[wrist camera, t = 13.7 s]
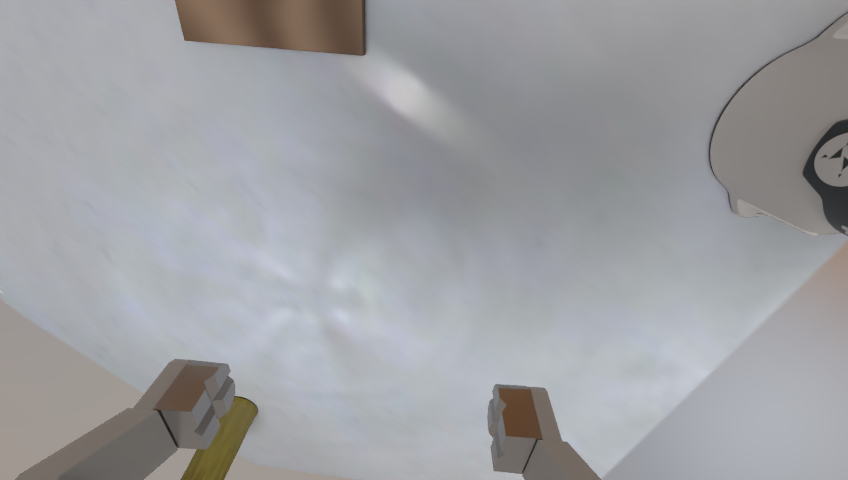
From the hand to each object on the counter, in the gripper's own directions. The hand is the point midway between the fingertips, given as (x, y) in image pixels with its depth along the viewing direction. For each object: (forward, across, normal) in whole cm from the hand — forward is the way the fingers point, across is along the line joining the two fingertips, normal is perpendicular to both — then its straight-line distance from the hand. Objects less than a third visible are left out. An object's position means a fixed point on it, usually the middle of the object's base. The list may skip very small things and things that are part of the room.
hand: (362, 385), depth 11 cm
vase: (+28, +26, +48) cm, 61 cm away
